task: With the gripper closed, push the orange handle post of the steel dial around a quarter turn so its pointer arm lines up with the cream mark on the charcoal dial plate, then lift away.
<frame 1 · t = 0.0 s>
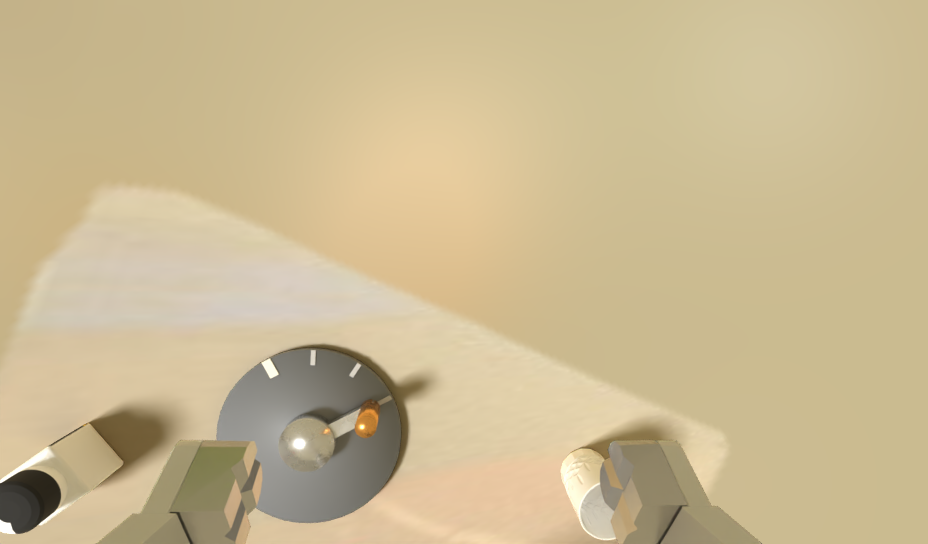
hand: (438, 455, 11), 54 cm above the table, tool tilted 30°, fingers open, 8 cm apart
white cup: (582, 469, 70), on the table
dial: (328, 437, 62), point 5 cm above the table, hinge at -90.0°
dial plate: (312, 434, 66), on the table
white square bottle: (86, 457, 64), on the table
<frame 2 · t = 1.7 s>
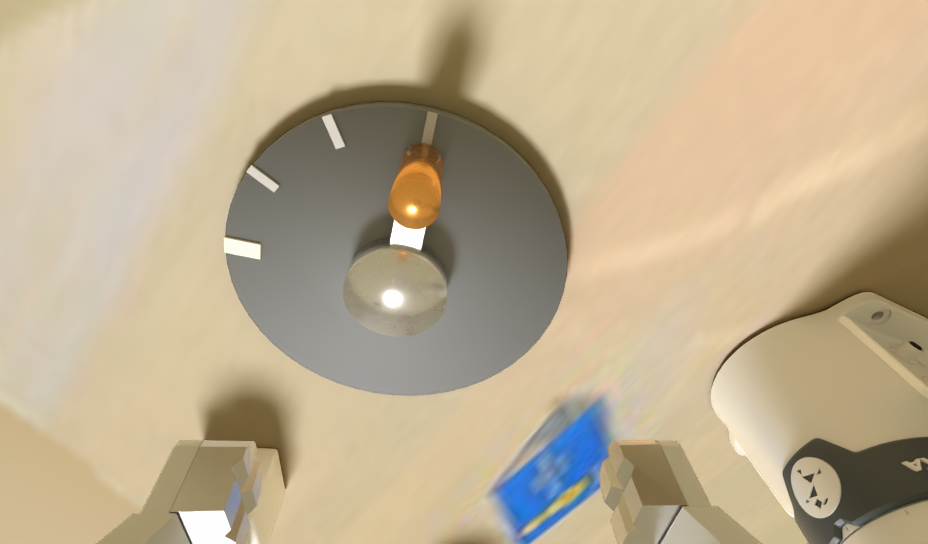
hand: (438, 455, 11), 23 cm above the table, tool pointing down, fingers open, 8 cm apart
dial: (401, 264, 30), point 5 cm above the table, hinge at -90.0°
dial plate: (400, 269, 36), on the table
white square bottle: (247, 466, 49), on the table
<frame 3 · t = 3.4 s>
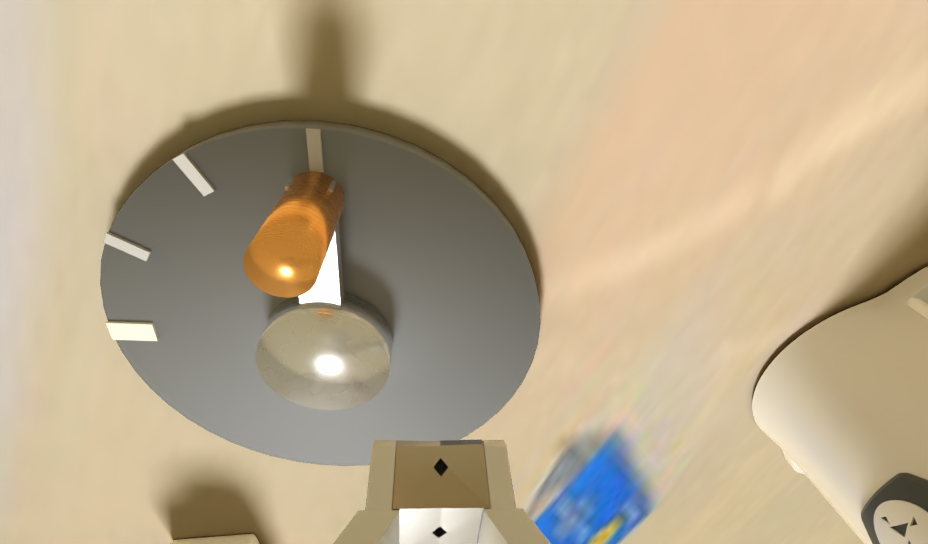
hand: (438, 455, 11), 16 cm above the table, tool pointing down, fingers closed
dial: (313, 330, 23), point 5 cm above the table, hinge at -90.0°
dial plate: (335, 323, 29), on the table
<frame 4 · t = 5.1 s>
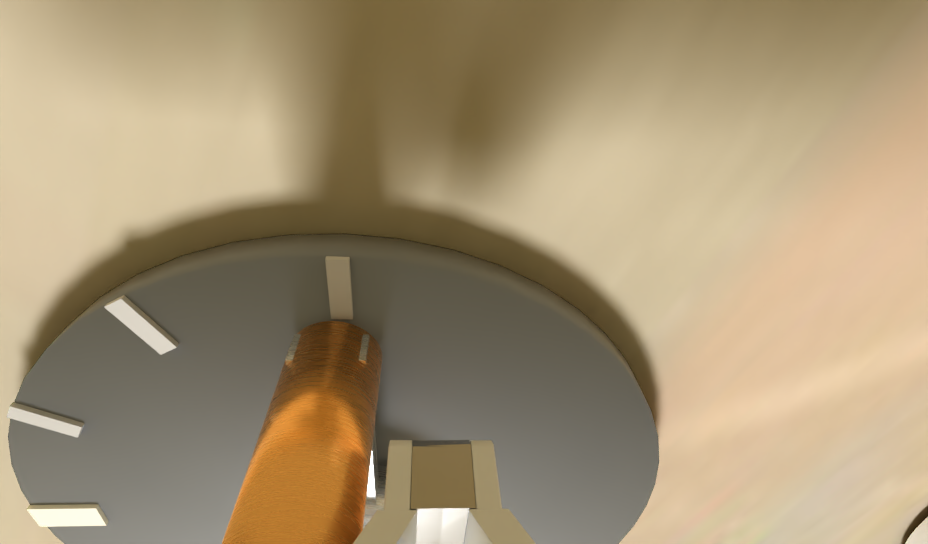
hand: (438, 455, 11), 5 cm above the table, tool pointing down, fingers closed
dial plate: (361, 482, 20), on the table
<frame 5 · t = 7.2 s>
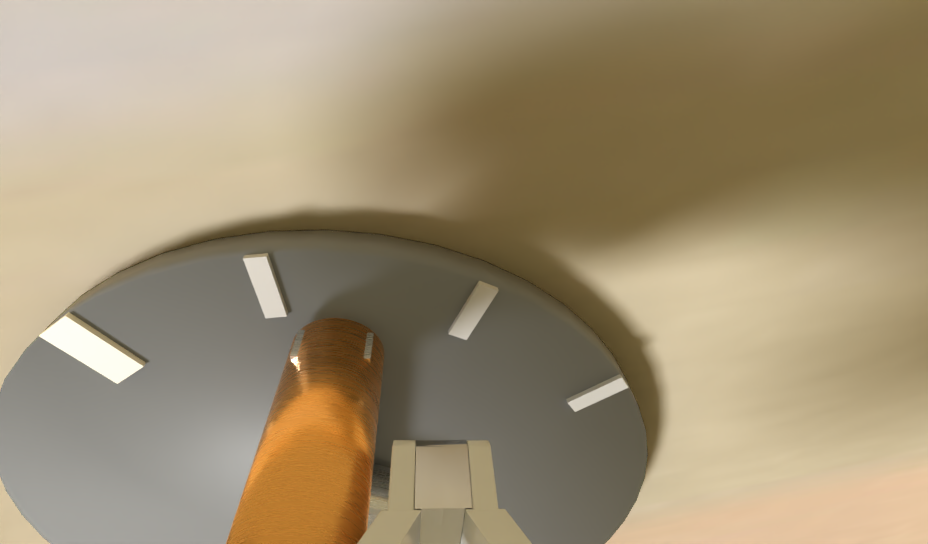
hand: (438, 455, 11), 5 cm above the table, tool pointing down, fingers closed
dial plate: (350, 480, 20), on the table
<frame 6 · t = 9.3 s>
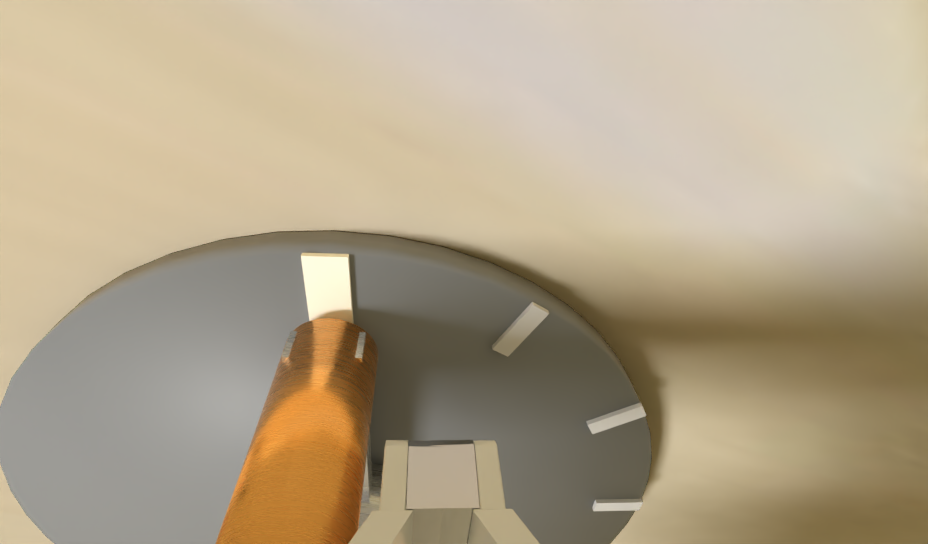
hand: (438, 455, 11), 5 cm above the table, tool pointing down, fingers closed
dial plate: (354, 480, 20), on the table
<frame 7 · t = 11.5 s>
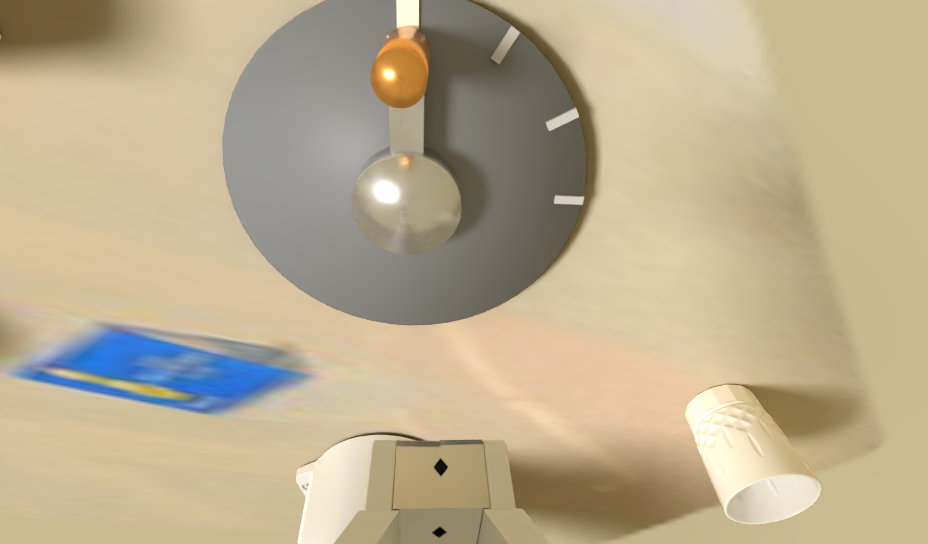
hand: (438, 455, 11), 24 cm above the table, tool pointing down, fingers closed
white cup: (717, 404, 49), on the table
dial: (404, 166, 28), point 5 cm above the table, hinge at 0.1°
dial plate: (409, 185, 34), on the table
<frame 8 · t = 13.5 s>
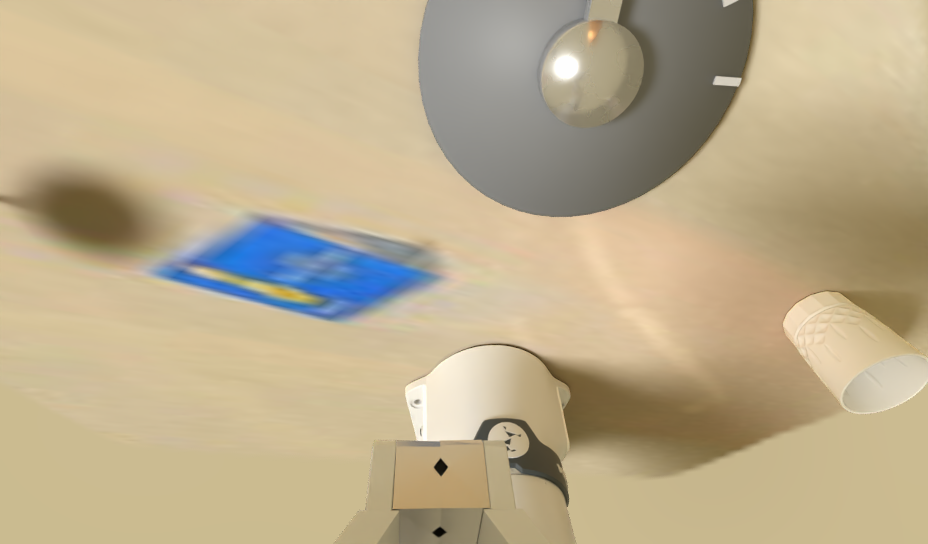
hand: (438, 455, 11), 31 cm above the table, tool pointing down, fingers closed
white cup: (812, 314, 52), on the table
dial: (610, 24, 31), point 5 cm above the table, hinge at 0.1°
dial plate: (579, 66, 36), on the table
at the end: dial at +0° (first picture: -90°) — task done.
